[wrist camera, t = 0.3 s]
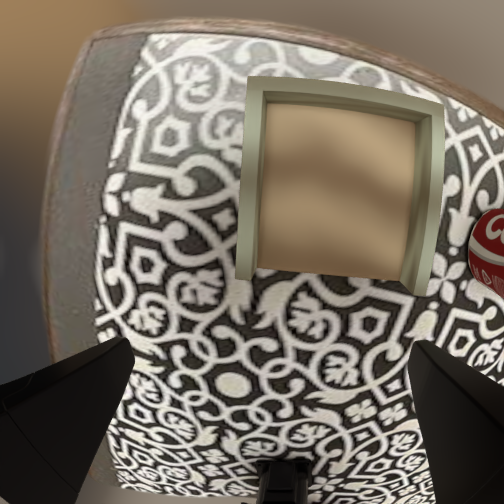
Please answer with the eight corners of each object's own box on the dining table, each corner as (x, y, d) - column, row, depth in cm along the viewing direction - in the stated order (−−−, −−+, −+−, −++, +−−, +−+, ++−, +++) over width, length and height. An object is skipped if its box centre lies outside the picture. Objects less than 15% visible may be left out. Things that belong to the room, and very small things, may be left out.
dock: (407, 278, 21) (425, 295, 17) (245, 263, 22) (234, 279, 19) (422, 115, 18) (443, 104, 14) (256, 93, 19) (247, 76, 16)
